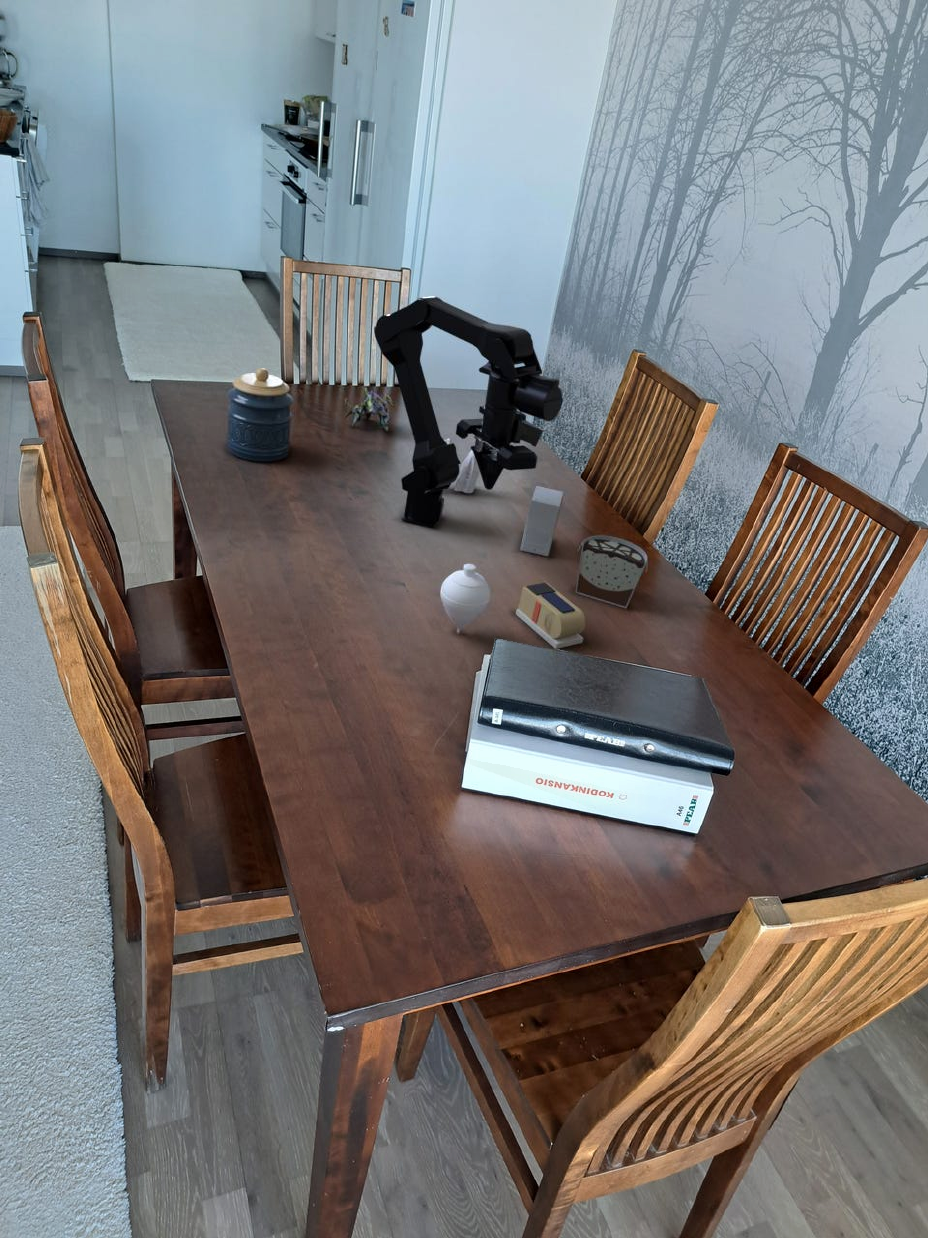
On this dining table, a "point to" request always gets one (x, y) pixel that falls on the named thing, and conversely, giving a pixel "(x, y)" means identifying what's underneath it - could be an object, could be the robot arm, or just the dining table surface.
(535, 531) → the small box
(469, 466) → the shaker set
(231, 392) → the canister
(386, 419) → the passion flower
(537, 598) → the cream two-tone block
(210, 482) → the dining table surface
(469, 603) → the spinning top
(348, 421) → the dining table surface
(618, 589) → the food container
